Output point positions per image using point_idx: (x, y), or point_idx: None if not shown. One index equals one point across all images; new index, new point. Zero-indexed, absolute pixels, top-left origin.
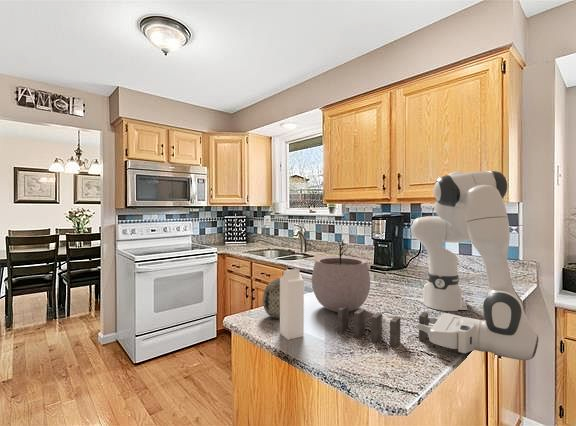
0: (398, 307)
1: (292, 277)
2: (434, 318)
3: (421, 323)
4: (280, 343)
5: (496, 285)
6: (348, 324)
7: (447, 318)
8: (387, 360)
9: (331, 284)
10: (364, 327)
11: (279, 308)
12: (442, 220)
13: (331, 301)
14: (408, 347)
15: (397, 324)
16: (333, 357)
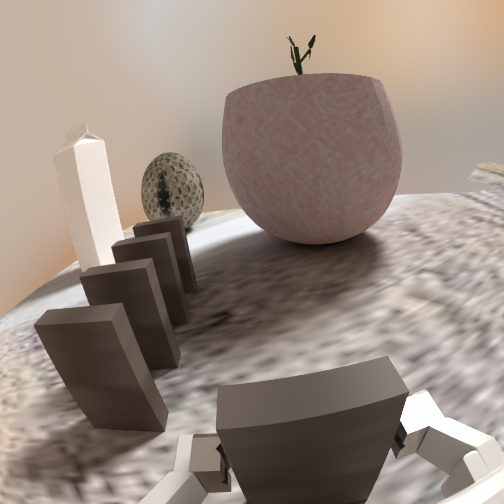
0: (500, 265)
1: (68, 144)
2: (464, 447)
3: (211, 449)
4: (67, 274)
5: None
6: (191, 278)
7: None
8: (3, 418)
9: (224, 153)
10: (181, 304)
11: (147, 211)
12: None
13: (240, 205)
14: (121, 471)
15: (74, 347)
16: (17, 333)
